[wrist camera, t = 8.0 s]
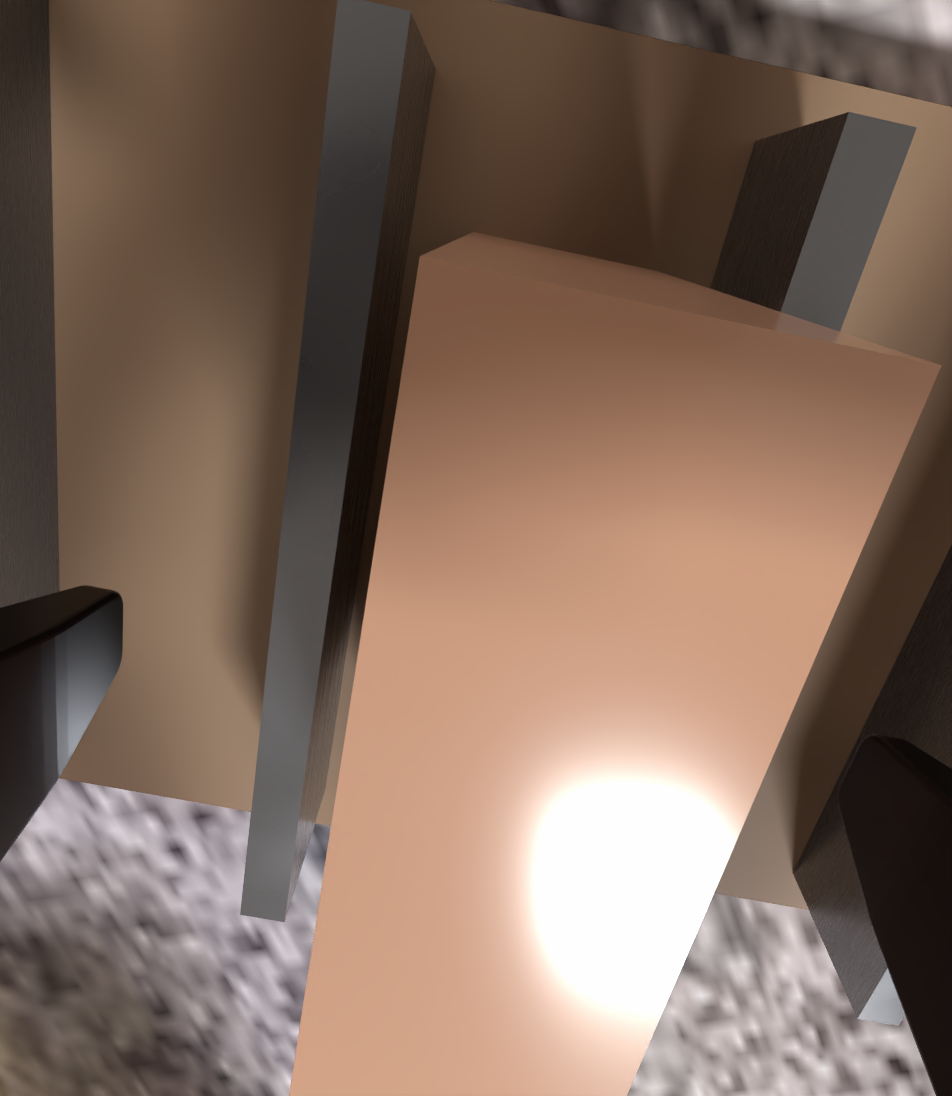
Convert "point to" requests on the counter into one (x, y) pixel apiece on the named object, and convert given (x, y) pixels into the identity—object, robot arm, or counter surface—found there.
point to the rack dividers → (359, 396)
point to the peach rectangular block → (576, 658)
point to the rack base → (439, 218)
